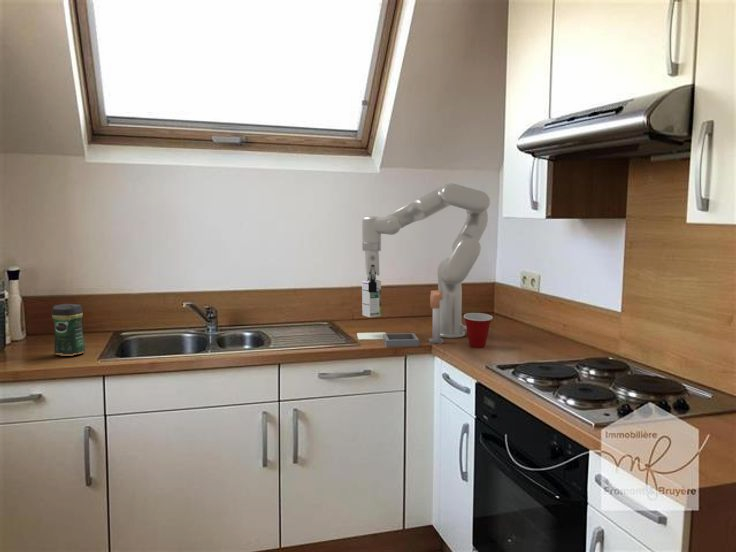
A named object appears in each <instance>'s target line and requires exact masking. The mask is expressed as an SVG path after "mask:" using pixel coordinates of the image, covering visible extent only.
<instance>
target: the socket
mask: <svg viewBox="0 0 736 552" xmlns="http://www.w3.org/2000/svg"><path fill="white" fill-rule="evenodd" d="M440 304H441V301H440ZM382 341H383V343H384V345H385V347H386V348H403V347H404V348H406V347H412V348H413V347H420V339H419V338H418V337H417V335H416V333H413V332H410V333H409V332H407V333H405V332H404V333H386V334H383V340H382ZM428 342H429V343H430V344H431V345H435V344H434V343H444V344H445V341H444V339H443V337H440V308H437V309H434V308H432V337H431V338H428Z"/></svg>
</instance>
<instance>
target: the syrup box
mask: <svg viewBox="0 0 736 552" xmlns="http://www.w3.org/2000/svg"><path fill="white" fill-rule="evenodd" d="M368 282H369V280H368V279H367V280H362V281H361V296H362V297H361V299H362V300H361V301H362V302H361V305H362V307H361V308H362V312H361V313H362V316H363V317H367V318H375V317H376V318H377V317H381V316H382V281H381V280H378V279H376V282H377V292H369V291H368Z"/></svg>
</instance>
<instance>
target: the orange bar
mask: <svg viewBox="0 0 736 552" xmlns="http://www.w3.org/2000/svg"><path fill="white" fill-rule="evenodd" d="M429 296H430V297H429V299H430V300H429V301H430V304H429V305H430V307H429V308H430V309H433V308H434V309H437V308H440V300H442V291H439V290H438V289H436V290H433V289H432V290H430V295H429Z"/></svg>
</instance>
